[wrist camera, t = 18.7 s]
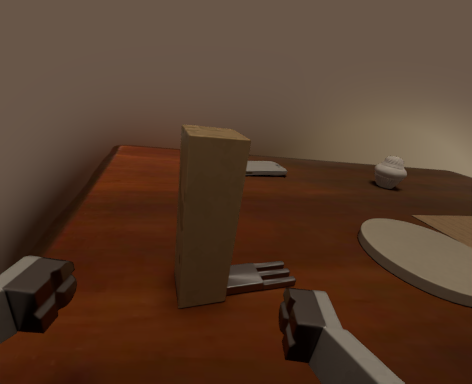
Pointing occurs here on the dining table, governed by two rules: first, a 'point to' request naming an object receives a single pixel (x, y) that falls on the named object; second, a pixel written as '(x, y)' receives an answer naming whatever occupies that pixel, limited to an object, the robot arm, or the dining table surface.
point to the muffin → (390, 172)
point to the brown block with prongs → (214, 220)
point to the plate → (421, 257)
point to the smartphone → (264, 168)
